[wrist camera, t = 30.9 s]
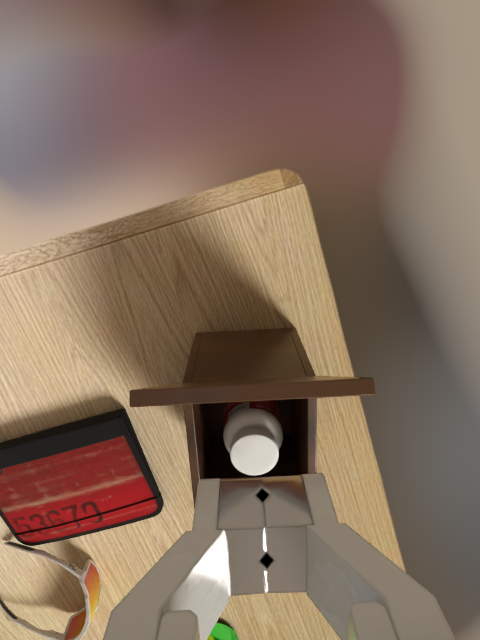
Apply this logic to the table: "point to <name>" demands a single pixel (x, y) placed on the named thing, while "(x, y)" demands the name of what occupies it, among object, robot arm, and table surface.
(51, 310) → the table surface
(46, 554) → the sunglasses
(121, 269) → the table surface
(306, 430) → the chest
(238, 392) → the chest lid
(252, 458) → the pill bottle
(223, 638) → the plate with lemons
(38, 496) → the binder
